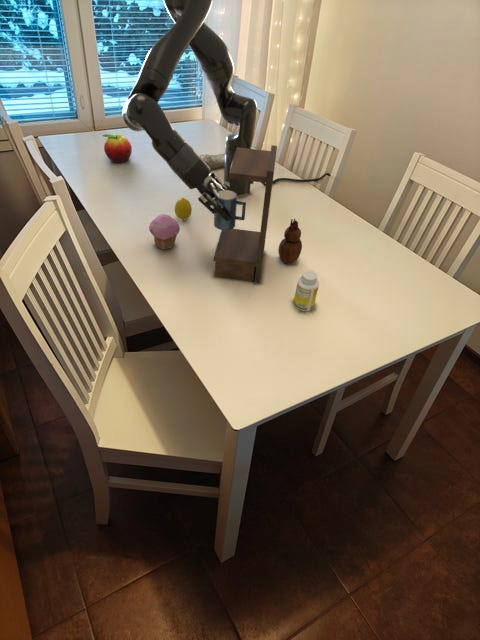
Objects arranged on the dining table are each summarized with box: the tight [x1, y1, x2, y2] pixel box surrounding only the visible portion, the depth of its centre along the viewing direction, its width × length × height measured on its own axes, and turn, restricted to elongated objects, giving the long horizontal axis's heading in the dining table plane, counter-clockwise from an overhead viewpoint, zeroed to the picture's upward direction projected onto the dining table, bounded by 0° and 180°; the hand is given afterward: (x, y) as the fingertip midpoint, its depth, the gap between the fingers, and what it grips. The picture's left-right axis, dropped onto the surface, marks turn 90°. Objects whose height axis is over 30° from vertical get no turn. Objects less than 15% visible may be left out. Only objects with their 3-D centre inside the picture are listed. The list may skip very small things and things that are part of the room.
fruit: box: [102, 133, 133, 163], centre depth 175 cm, size 11×11×10 cm
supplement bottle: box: [293, 270, 320, 312], centre depth 115 cm, size 6×6×10 cm
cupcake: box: [148, 213, 181, 250], centre depth 132 cm, size 9×9×10 cm
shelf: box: [212, 145, 278, 284], centre depth 120 cm, size 14×16×33 cm
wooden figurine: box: [277, 217, 303, 265], centre depth 129 cm, size 7×6×15 cm
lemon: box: [174, 197, 193, 221], centre depth 145 cm, size 6×6×8 cm
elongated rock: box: [198, 153, 225, 170], centre depth 179 cm, size 35×5×10 cm
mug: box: [213, 190, 247, 231], centre depth 119 cm, size 8×6×9 cm
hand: (231, 212), depth 120 cm, fingers closed on mug, 6 cm apart
